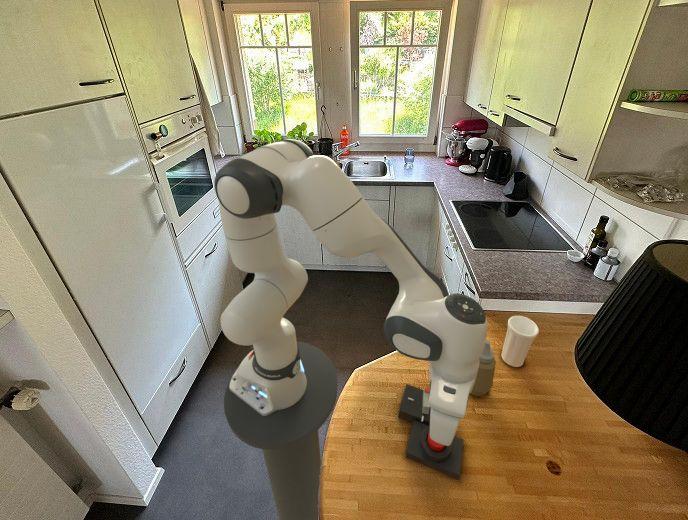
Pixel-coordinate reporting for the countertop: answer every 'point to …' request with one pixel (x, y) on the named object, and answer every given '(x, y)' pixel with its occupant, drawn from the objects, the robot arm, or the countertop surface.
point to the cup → (518, 340)
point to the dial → (425, 401)
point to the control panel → (413, 406)
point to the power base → (434, 452)
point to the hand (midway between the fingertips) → (443, 410)
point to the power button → (434, 444)
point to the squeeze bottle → (485, 371)
